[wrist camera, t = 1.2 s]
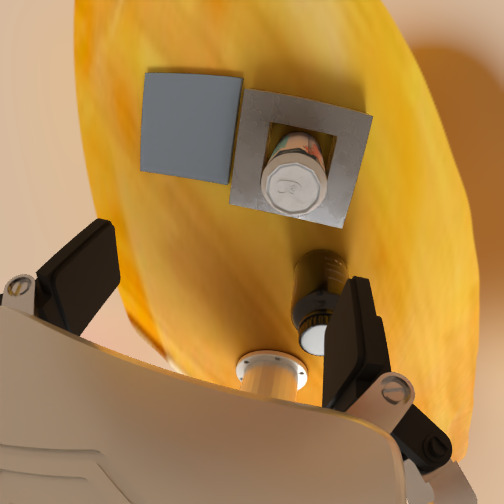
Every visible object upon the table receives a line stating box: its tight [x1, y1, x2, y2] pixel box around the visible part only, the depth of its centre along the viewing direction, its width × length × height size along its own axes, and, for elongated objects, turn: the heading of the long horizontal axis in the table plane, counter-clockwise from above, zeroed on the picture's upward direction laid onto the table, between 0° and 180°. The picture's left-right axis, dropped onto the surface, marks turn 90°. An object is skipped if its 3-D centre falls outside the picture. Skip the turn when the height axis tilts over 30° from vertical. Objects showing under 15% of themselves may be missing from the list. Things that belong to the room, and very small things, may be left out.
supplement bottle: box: [291, 250, 349, 356], centre depth 32 cm, size 7×7×12 cm
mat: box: [140, 73, 243, 185], centre depth 30 cm, size 12×11×1 cm
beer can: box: [261, 131, 327, 215], centre depth 25 cm, size 5×5×12 cm
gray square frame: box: [229, 88, 373, 229], centre depth 29 cm, size 12×12×4 cm
